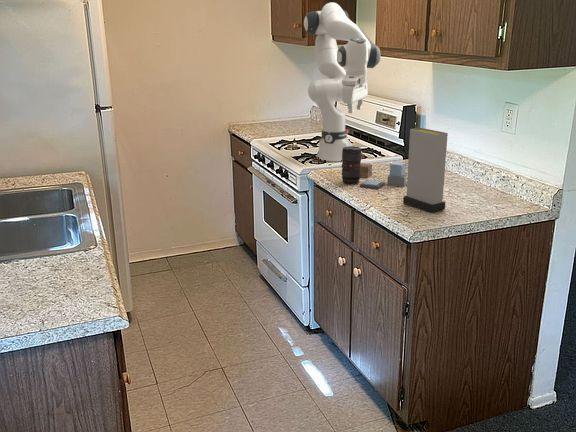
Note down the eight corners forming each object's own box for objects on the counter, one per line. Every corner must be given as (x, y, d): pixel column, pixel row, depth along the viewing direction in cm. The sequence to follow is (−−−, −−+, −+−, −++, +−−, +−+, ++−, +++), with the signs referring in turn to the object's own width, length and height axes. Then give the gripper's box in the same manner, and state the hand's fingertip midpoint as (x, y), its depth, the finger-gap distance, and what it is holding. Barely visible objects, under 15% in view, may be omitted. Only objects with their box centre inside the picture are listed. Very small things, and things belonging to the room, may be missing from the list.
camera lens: (359, 185, 248) (360, 150, 243) (340, 184, 249) (341, 149, 245) (361, 180, 255) (362, 146, 251) (342, 179, 257) (343, 145, 252)
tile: (366, 182, 252) (367, 179, 252) (384, 184, 248) (384, 181, 248) (359, 187, 245) (359, 183, 245) (378, 189, 242) (378, 185, 241)
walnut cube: (361, 174, 266) (361, 163, 264) (371, 175, 264) (372, 164, 262) (357, 176, 262) (357, 165, 260) (367, 177, 260) (368, 166, 258)
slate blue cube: (393, 173, 252) (394, 161, 250) (405, 174, 250) (405, 162, 248) (389, 175, 248) (390, 164, 246) (401, 177, 245) (401, 165, 244)
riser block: (389, 181, 254) (390, 172, 253) (406, 182, 252) (406, 173, 251) (387, 185, 248) (387, 176, 247) (404, 187, 246) (404, 177, 245)
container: (417, 206, 228) (411, 127, 222) (454, 210, 212) (449, 126, 207) (402, 209, 224) (397, 130, 219) (440, 214, 208) (434, 128, 203)
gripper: (358, 74, 259) (357, 106, 264) (340, 80, 242) (338, 114, 247) (372, 75, 256) (370, 107, 261) (354, 81, 239) (353, 115, 244)
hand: (355, 111), depth 254 cm, fingers open, 8 cm apart
